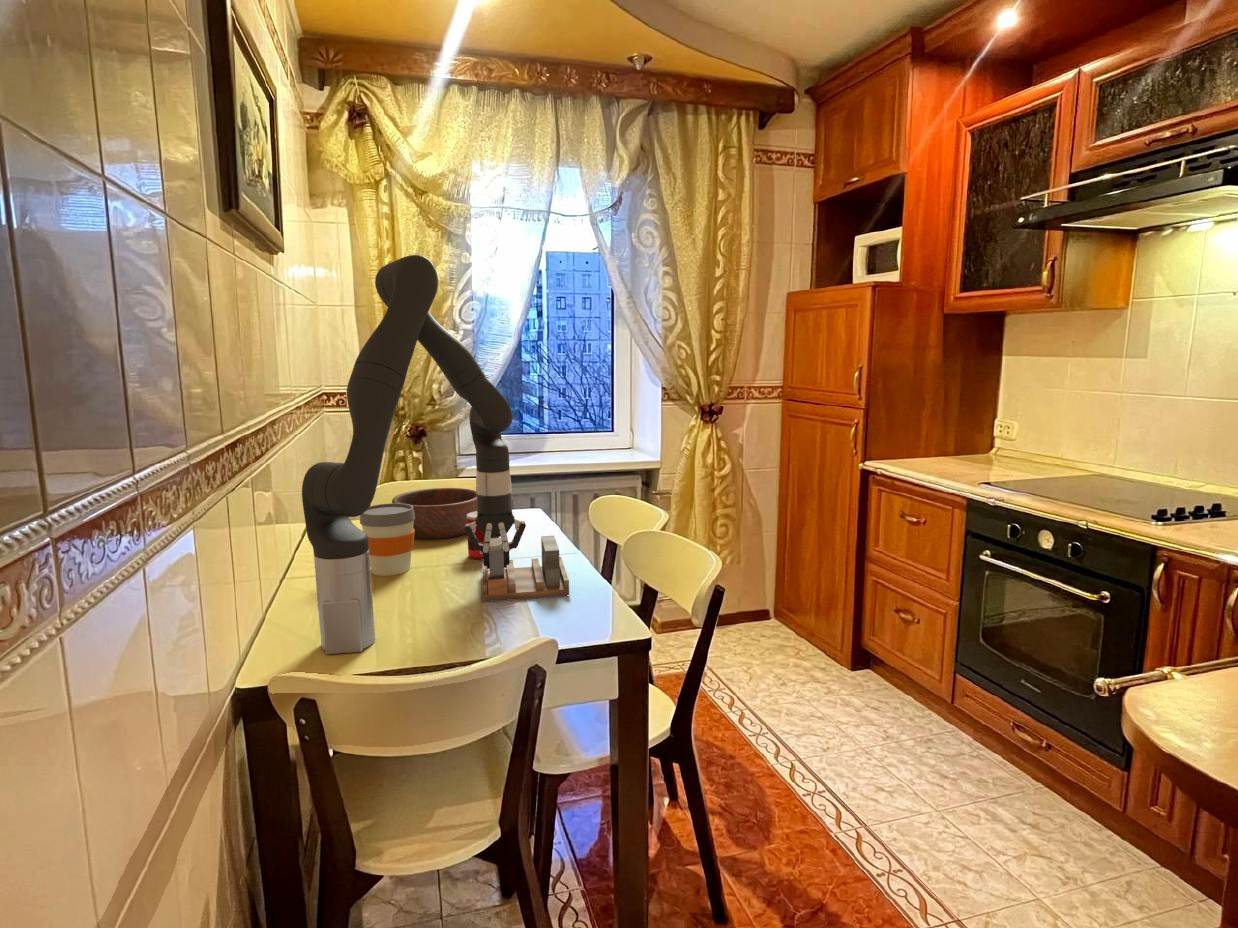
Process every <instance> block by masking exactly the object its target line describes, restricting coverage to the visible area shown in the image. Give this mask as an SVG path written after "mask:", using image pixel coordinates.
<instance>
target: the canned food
mask: <svg viewBox="0 0 1238 928" xmlns="http://www.w3.org/2000/svg"><path fill="white" fill-rule="evenodd" d="M476 517H477V511H475V512H471V513H468V514H467V523H468V524H470V523H472V522H474V521H475V519H476ZM475 528H476V531H475V535H476V537H477V539H478V541H479V543H480V544H483V543H484V536H485V535H484V533H483V532H482V531H481V530H480V529H479V528H478V526H476V527H475ZM466 535H467V534H466ZM490 538H500V537H498V536H495V537H490ZM467 553H468V556H469V558H470V559H471V560H476V561H483V552H482V551H479V550H475V549H474V547H473V545H472V543H471V541H470V539H469V537H468V535H467Z"/></svg>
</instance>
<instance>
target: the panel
mask: <svg viewBox="0 0 1238 928" xmlns="http://www.w3.org/2000/svg"><path fill="white" fill-rule="evenodd" d="M489 563H490V569H489V570H490V579H504V569H505V568H504V553H503V543H502V539H501V537H499V538H490V544H489Z"/></svg>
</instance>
